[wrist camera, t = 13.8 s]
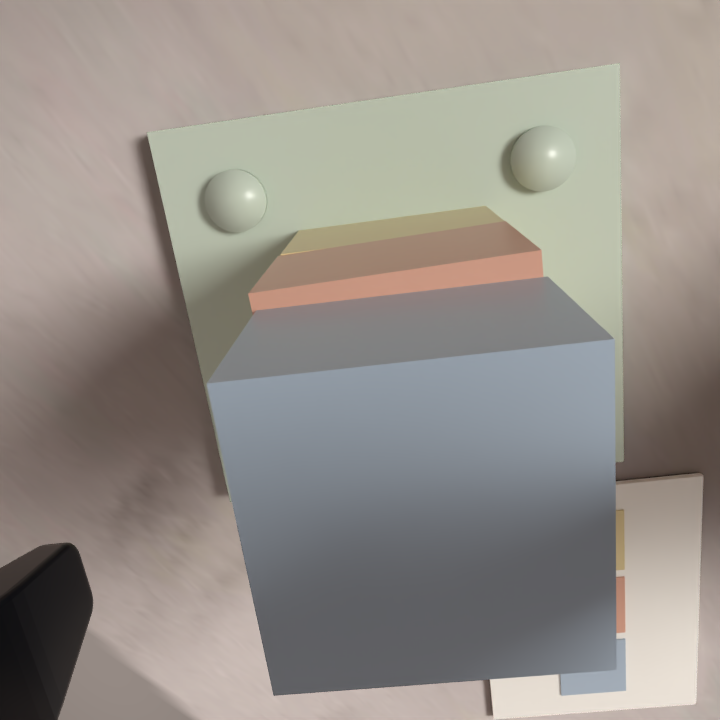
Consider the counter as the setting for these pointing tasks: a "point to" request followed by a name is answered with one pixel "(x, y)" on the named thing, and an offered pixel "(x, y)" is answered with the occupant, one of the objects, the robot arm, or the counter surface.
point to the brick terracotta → (399, 266)
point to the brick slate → (425, 486)
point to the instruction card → (636, 611)
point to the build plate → (400, 191)
